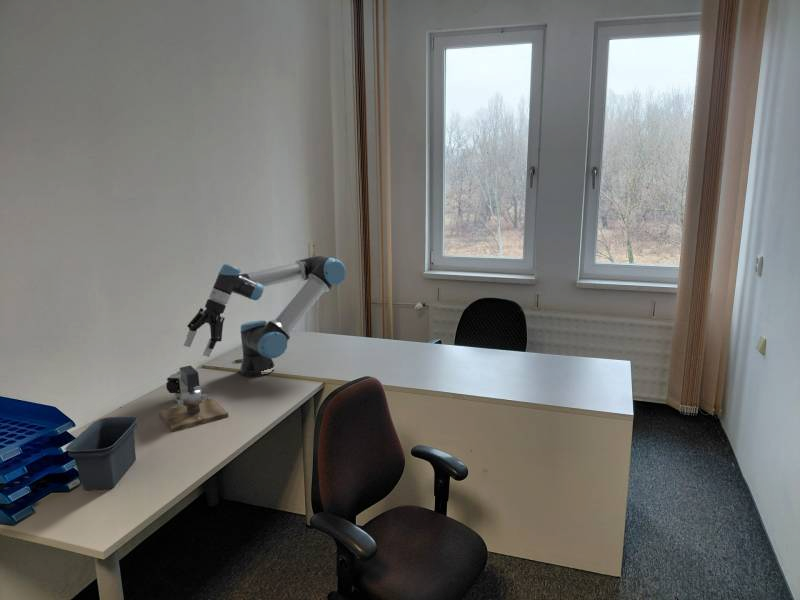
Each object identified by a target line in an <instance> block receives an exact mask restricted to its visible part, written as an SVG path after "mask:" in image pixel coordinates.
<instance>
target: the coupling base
mask: <svg viewBox="0 0 800 600" xmlns="http://www.w3.org/2000/svg"><path fill="white" fill-rule="evenodd" d="M159 414H160V416H161V418H162V419H163V421H164V422H165V424H166V425H167V427H168V426H169V427H168V428H169V430H170V429H171V430H170V431H171V432H176V430H177V431H179V430H184V429H187V427H188V428H191V426H192V427H195V426H197V425H198V424H199V425H203V424H206V423H210V422H213V421H218V420H222V419H224V418H228V417H229V412H228V411H227V410H226V409H225V408H224V406H222V405H221V403H219V402H218V401H217V400H216V399H215V398H214V397H211V398H207V399H206V400H202V403H200V404H198V405H195V406H184V405H181V406H175V407H171V408H166V409H163V410H160V411H159ZM217 419H218V420H217ZM202 423H203V424H202ZM194 425H195V426H194ZM199 425H198V426H199ZM183 428H184V429H183Z"/></svg>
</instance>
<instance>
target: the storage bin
mask: <svg viewBox="0 0 800 600" xmlns="http://www.w3.org/2000/svg"><path fill="white" fill-rule="evenodd" d="M138 420H139V418H138V417H137V416H133V415H131V416H128V415H127V416H112V417H111V416H110V417H103V418H99V419H97V420H95V421H93V422H92V423H91V424H90V425H89V426H88V427H86V428H85V430H83V431H82V432H81V433H80V434H79V435H77V437H76V438H74V441H73V440H72V441H71V442H70V443H69V444H68V445H67V446H66V447H65V450H66V451H68V452H67V453H68V454H67V455H68V457H71V458H73V459H74V463H75V465H76V469H77V472H78V475H79V479H80V483H81V485H82V488H83V490H85V491H91V490H90V489H99V490H110V488H111V489H114V488H115V486H116V485H117V484H118V483H119V482H120V480H121V479H122V478H123V476H125V474H126V473H127V472H128V470H130V468H131V467H132V466H133V464H134V463H135V462H136V460H137V457H136V441H135V429H136V428H137V426H138Z"/></svg>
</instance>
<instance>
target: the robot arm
mask: <svg viewBox="0 0 800 600" xmlns="http://www.w3.org/2000/svg"><path fill="white" fill-rule="evenodd" d="M345 278H346V267H345V265H344V263H343V262H342V261H341V260H339V259H336V258H334V257H326V256H322V255H317V256H312V257H307V258H303V259H298V260H296V261H295V262H294V263H289V264H284V265H280V266H276V267H275V266H274V267H270V268H266V269H261V270H257V271H250V272H246V273H242V274H241V269H239V268H237V267H236V266H233V265H230V264H227V263H224V264H222V267H221V268H220V270H219V272H218V275H217V277H216V279H215V282H214V285H213V287H212V290H211V292H210V294H209V296H208V299H207V300H206V303H205V304H204V307H205V308H202V307H201V308H200V309H198V312H197V313H196V314H195V316H194V317H193V319H191V320H190V322H189V323H188V324H187V327H188V329H189V331H188V333H187V335H186V339H185V341H184V343H183V346H184V347H187V348H191V345H192V343H193V341H194V339H195V336H196V334H197V332H198V331H197V330H199V329H200V328H201V327H202V326H203V325H205V324H208V326H209V329H210V339H208V342H207V344H206V346H205V348H204V351H203V354H202V356H204V357H207V358H210V356H211V354H212V352H213V350H214V349H215V346H216V344H217V342H222V339H223V338H222V337H223V329H224V322H225V319H226V318H225V317H224V316H221V314H223V313H224V312H225V309H226V307H227V306H226V305H228V303H229V300H230V298H231V296H232V293H233V294H236V295H240V296H242V297H245V298H247V299H248V300H252V301H258V300H259V299H261V298H262V296H263V295H264V294H263V293H264V288H265V287H270V286H273V285H274V286H275V285H278V284H282V283H288V282H291V281H297V280H299V281H305V280H306V281H307V280H308V281H307V282H306V283H305V284H304V285H303V286H302V287H301V288H300V290H299V291H298V292H297V293H296V294H295V296H293V298H292V299H291V300H290V301H289V302H288V304H287V305H286V306H285V307H284V309H283V310H282V311H281V312H280V313H279V314H278V316H277V317H276V318H275V319H274V320H273V319H272V320H269V321H268V322H267V321H266V320H255V321H249V322H244V323H243V324H241V325H240V336H241V337H240V338H241V348H242V361H241V364H240V374H241V375H242V376H245V377H260V376H261V375H262V374H261V371H264V370H267V369H271V368H273V367H274V366H275V363H274V360H273V359H275V358H276V359H277V358H279V357H280V356H282V355H283V354H284V353H285V352H286V350H287V348H288V341H289V340H290V338H291V332H292V331H293V329H294V328H295V327H297V325H298V323H300V321H301V320H302V319H303V317H304V316H305V315H306V314H307V313H308V311H310V309H311V308H312V306H314V305H315V303H316V302H317V301H318V300H319V298H320V297H321V296H322V295H323V294H324V293H327V292H329V291H330V290H332V288H333V287H334V286H339V285H340V284H341V283H343V281H344V280H345ZM262 376H263V375H262Z"/></svg>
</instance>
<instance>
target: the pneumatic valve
mask: <svg viewBox="0 0 800 600" xmlns="http://www.w3.org/2000/svg"><path fill="white" fill-rule="evenodd" d="M166 380H167V382H166V383H165V385H166V390H167V391H168V393H169V394H174V395H175V401H176V402H177V401H178V400H182V396H181V391H182V390H184V389H186V388H187V386H186V385H185V384H184V383H183V382H182V381H181V375H180V370H179V371H177V372H175V373H172V374H170V376H168V377H167V379H166Z"/></svg>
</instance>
